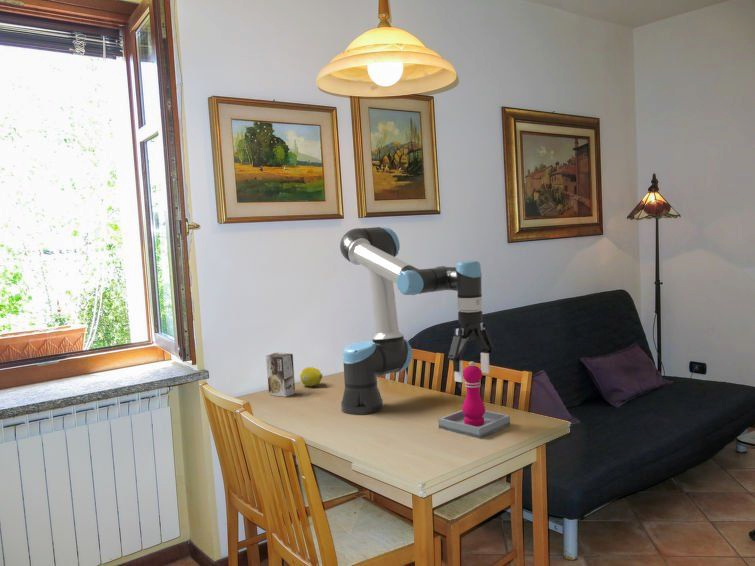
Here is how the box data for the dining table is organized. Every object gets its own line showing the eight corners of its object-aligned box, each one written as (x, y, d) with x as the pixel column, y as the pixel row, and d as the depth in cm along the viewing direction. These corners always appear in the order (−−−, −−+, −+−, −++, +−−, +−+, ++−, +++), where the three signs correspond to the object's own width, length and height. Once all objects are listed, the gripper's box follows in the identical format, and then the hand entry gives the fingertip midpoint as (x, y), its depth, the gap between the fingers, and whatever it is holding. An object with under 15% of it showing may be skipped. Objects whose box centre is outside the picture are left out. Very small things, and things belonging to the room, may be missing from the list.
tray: (438, 427, 198) (438, 418, 197) (469, 415, 209) (469, 406, 208) (479, 438, 186) (479, 428, 186) (510, 424, 197) (509, 415, 197)
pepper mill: (485, 427, 193) (483, 363, 191) (462, 426, 194) (459, 363, 193) (486, 419, 200) (483, 358, 198) (463, 419, 202) (461, 358, 200)
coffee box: (296, 393, 249) (293, 353, 248) (285, 397, 244) (282, 356, 242) (278, 391, 254) (276, 352, 253) (268, 395, 249) (265, 355, 247)
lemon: (296, 386, 261) (295, 367, 260) (311, 382, 266) (310, 364, 265) (311, 390, 253) (310, 371, 252) (327, 386, 258) (325, 367, 257)
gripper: (454, 316, 183) (456, 387, 185) (503, 306, 200) (505, 371, 202) (434, 314, 188) (437, 383, 190) (484, 304, 205) (486, 368, 207)
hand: (472, 377), depth 196 cm, fingers open, 13 cm apart
